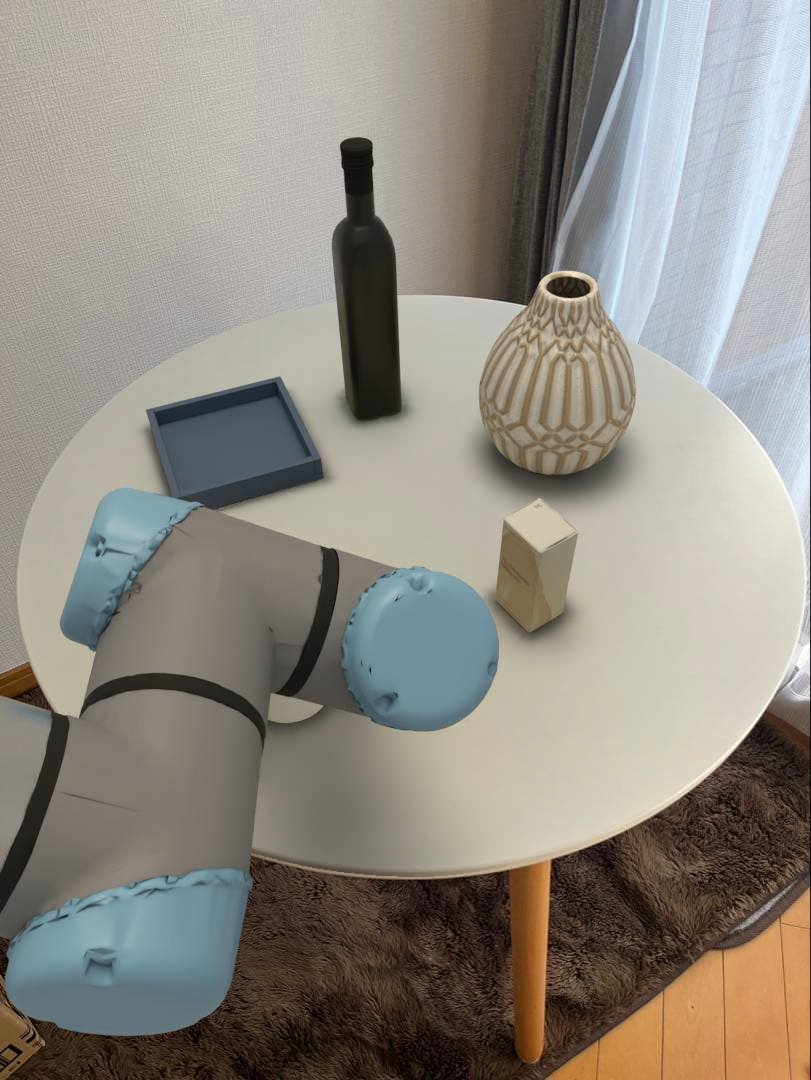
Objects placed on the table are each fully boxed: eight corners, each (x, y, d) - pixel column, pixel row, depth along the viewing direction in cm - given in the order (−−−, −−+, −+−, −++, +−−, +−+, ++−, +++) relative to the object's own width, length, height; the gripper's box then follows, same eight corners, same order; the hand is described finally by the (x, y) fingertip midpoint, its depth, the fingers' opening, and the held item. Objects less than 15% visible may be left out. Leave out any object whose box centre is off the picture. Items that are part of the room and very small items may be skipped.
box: (493, 599, 83) (499, 515, 75) (529, 578, 85) (539, 494, 77) (530, 636, 80) (540, 552, 72) (566, 614, 82) (580, 529, 74)
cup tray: (178, 518, 92) (172, 498, 90) (151, 428, 102) (145, 409, 100) (323, 478, 96) (321, 458, 93) (283, 395, 106) (280, 375, 104)
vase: (558, 386, 105) (577, 226, 91) (655, 460, 96) (694, 294, 81) (447, 437, 100) (448, 274, 85) (539, 521, 90) (558, 354, 76)
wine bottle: (389, 384, 106) (376, 126, 85) (404, 413, 103) (395, 150, 81) (343, 395, 105) (318, 135, 84) (356, 424, 102) (334, 160, 80)
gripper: (211, 772, 51) (170, 719, 73) (500, 622, 58) (385, 614, 80) (157, 653, 51) (132, 635, 72) (456, 515, 57) (351, 536, 79)
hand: (264, 624), depth 76 cm, fingers closed on cup, 7 cm apart
